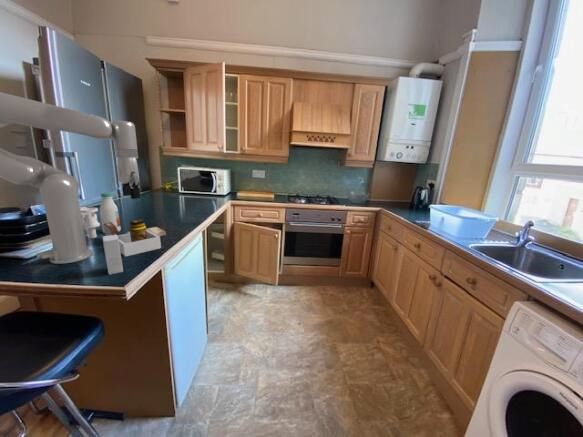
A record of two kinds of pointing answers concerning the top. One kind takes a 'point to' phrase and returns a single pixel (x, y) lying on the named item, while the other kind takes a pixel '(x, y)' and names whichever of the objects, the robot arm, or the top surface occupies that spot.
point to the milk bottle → (109, 211)
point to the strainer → (90, 220)
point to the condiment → (137, 230)
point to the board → (155, 231)
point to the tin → (110, 229)
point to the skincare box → (112, 254)
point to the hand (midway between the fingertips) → (131, 197)
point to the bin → (138, 244)
